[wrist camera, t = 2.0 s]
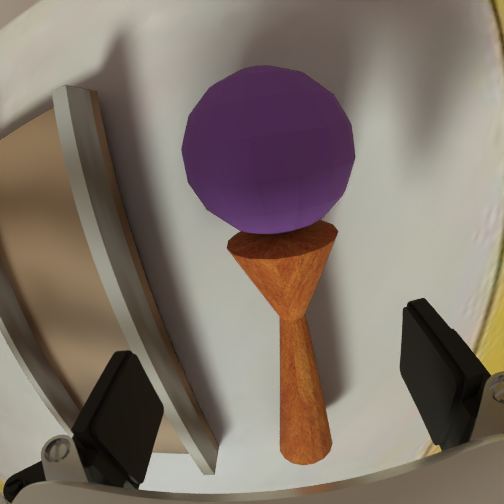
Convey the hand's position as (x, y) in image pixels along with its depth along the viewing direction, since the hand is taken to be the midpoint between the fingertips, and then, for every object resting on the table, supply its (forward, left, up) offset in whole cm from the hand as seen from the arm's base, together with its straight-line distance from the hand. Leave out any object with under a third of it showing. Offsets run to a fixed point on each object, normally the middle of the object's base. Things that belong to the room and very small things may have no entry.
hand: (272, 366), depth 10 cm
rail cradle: (0, +11, -6) cm, 13 cm away
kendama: (-1, -1, -6) cm, 6 cm away
